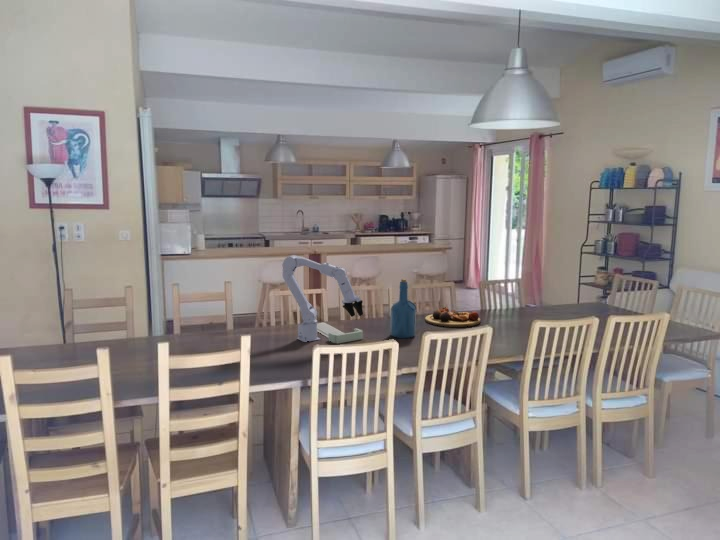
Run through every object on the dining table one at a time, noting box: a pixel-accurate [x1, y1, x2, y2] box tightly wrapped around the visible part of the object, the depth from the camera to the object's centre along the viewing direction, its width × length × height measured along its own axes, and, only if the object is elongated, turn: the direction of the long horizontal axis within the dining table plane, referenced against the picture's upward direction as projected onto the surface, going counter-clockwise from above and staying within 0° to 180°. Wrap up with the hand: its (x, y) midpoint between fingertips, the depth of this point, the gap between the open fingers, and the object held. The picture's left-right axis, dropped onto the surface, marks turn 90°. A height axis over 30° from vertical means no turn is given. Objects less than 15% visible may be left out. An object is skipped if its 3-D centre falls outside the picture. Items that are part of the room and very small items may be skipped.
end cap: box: [328, 328, 364, 344], centre depth 273 cm, size 17×7×4 cm, turn 124°
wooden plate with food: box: [424, 306, 482, 328], centre depth 314 cm, size 32×32×8 cm
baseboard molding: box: [317, 321, 345, 339], centre depth 290 cm, size 31×3×12 cm
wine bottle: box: [389, 278, 417, 339], centre depth 279 cm, size 14×13×30 cm
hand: (357, 315), depth 270 cm, fingers open, 7 cm apart
